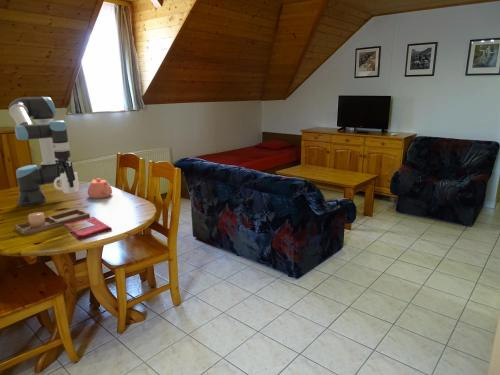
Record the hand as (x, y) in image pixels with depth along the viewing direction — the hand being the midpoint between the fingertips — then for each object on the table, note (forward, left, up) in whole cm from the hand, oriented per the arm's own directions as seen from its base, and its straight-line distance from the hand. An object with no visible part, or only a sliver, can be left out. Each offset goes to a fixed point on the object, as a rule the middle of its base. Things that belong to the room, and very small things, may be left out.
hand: (67, 191), depth 198 cm
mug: (-1, 0, -1) cm, 1 cm away
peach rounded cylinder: (+1, -18, -15) cm, 23 cm away
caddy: (+1, -10, -16) cm, 19 cm away
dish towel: (+21, -2, -17) cm, 27 cm away
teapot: (-26, +32, -16) cm, 44 cm away
